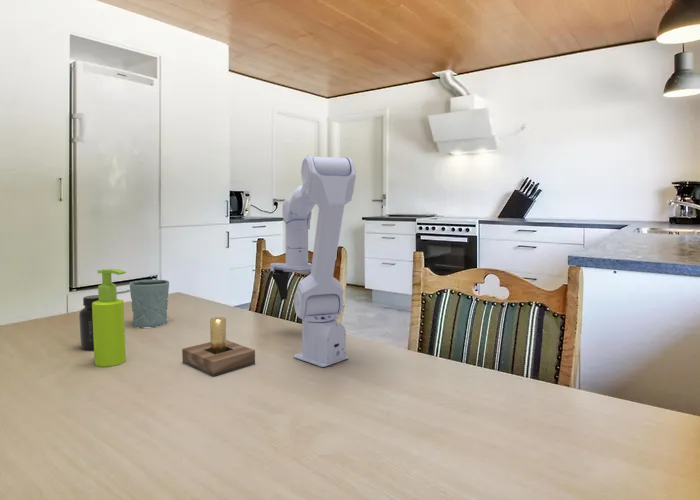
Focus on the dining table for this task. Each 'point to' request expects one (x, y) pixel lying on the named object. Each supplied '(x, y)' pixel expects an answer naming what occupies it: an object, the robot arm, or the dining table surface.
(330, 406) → the dining table surface
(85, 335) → the supplement bottle
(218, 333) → the brass peg
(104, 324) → the soap dispenser
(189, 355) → the walnut block
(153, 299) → the grey-green plant pot
